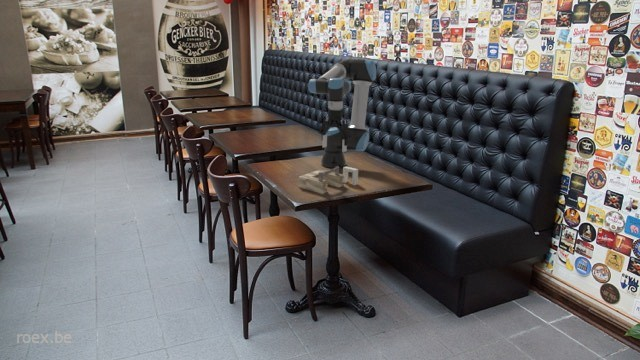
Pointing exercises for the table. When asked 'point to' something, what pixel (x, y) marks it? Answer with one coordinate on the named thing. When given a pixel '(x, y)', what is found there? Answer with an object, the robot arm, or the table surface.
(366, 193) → the table surface
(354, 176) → the white u-shaped bracket
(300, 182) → the c-clamp
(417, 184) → the table surface
